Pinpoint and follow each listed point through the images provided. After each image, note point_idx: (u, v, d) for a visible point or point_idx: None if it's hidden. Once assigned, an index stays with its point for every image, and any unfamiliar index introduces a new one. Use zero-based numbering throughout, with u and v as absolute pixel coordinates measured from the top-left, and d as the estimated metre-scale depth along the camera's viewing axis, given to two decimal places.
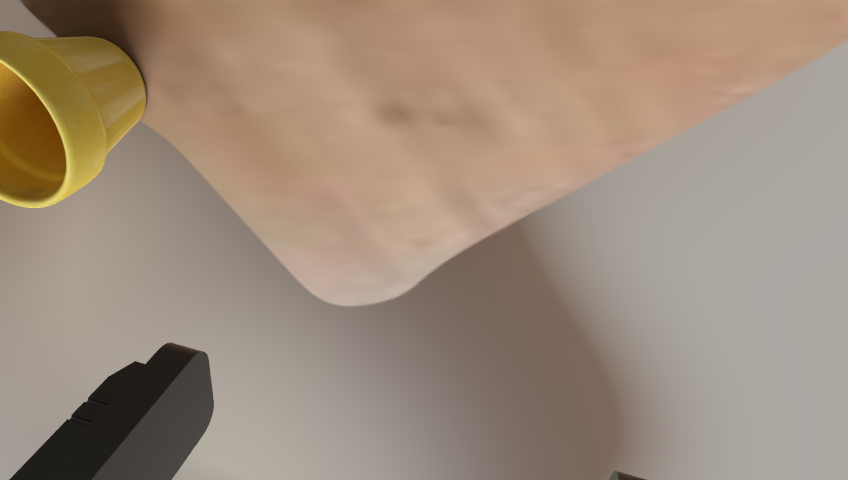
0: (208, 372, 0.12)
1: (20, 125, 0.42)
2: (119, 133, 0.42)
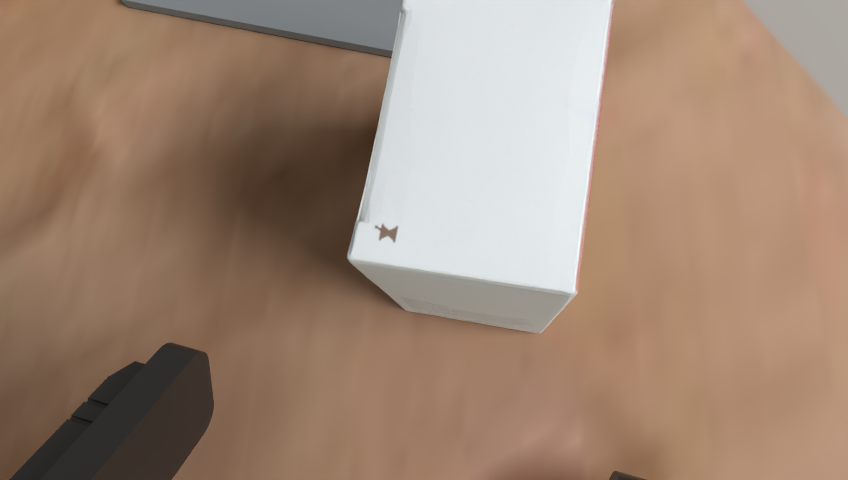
0: (208, 372, 0.12)
1: None
2: None
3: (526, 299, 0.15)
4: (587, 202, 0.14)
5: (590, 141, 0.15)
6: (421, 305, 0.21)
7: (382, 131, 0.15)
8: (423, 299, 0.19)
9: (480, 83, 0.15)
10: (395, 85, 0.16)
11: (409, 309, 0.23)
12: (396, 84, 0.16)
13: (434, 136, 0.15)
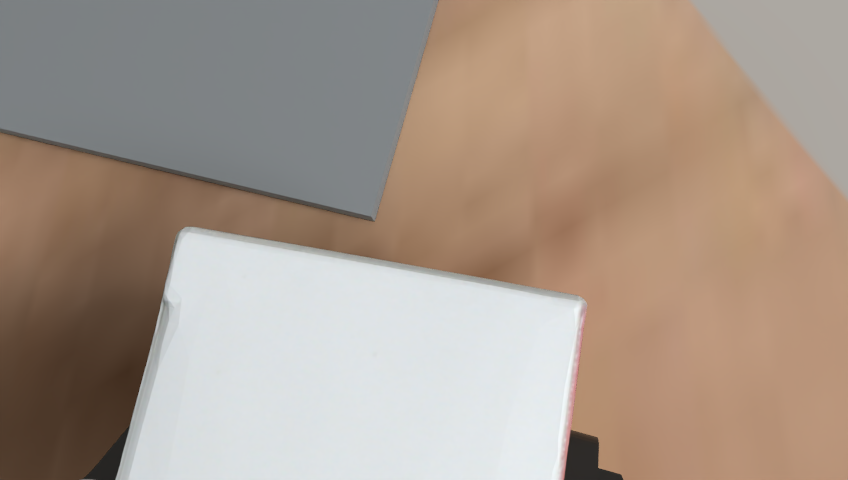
0: None
1: None
2: None
3: None
4: None
5: None
6: None
7: None
8: None
9: None
10: (134, 473, 0.08)
11: None
12: (136, 472, 0.08)
13: None
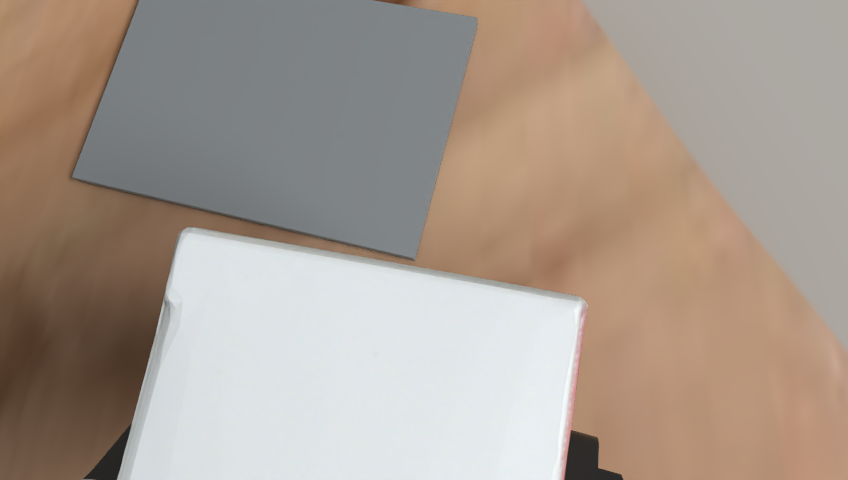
0: None
1: None
2: None
3: None
4: None
5: None
6: None
7: None
8: None
9: None
10: (135, 472, 0.08)
11: None
12: (137, 472, 0.08)
13: None
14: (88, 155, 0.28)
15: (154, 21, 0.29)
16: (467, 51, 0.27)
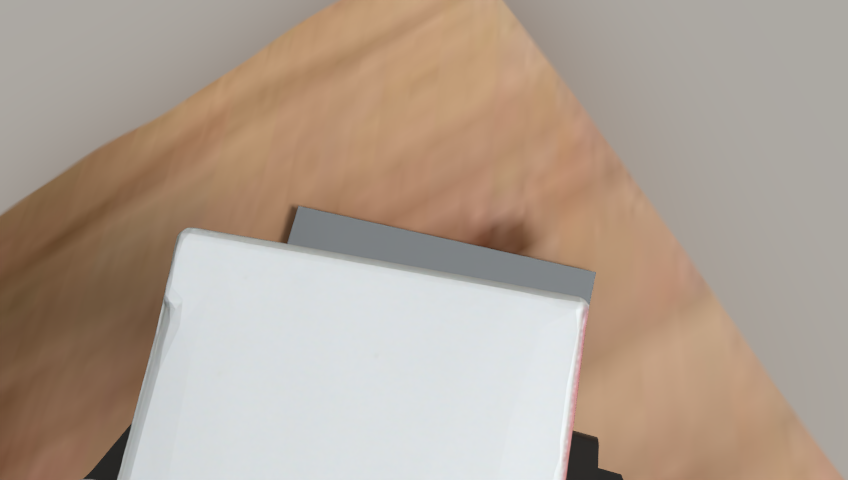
0: None
1: None
2: None
3: None
4: None
5: None
6: None
7: None
8: None
9: None
10: (135, 474, 0.08)
11: None
12: (137, 473, 0.08)
13: None
14: None
15: None
16: (588, 304, 0.31)
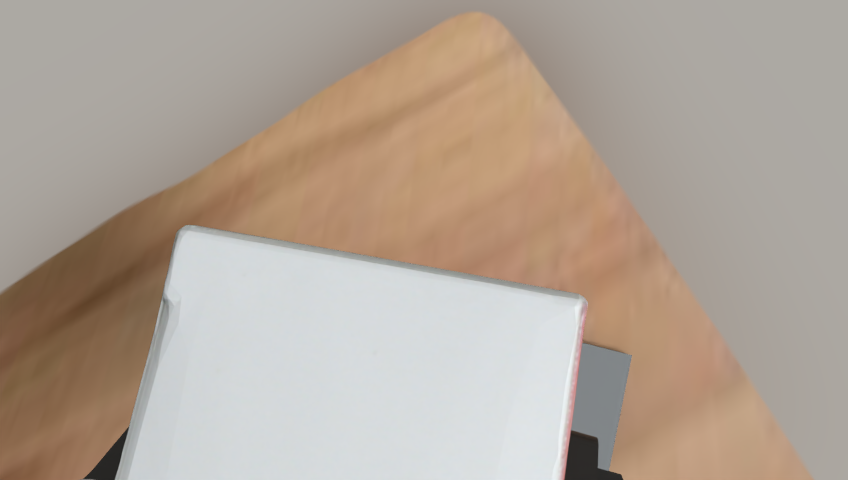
0: None
1: None
2: None
3: None
4: None
5: None
6: None
7: None
8: None
9: None
10: (134, 471, 0.08)
11: None
12: (137, 470, 0.08)
13: None
14: None
15: None
16: (624, 388, 0.30)
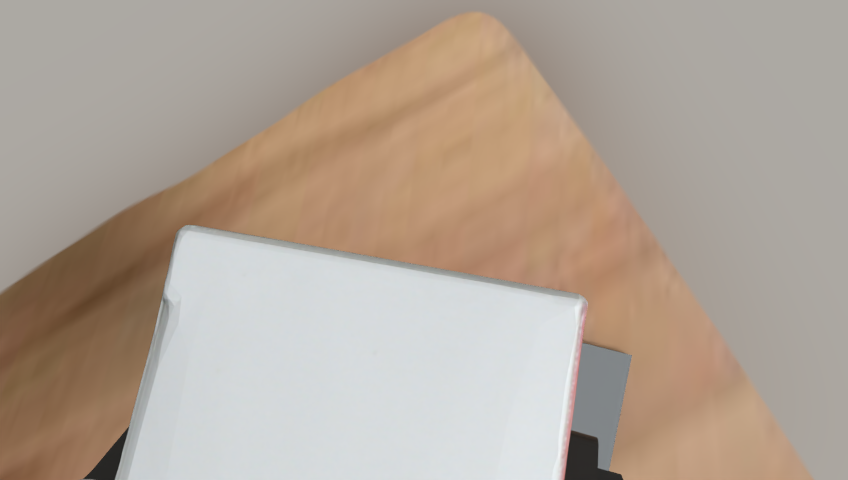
0: None
1: None
2: None
3: None
4: None
5: None
6: None
7: None
8: None
9: None
10: (134, 471, 0.08)
11: None
12: (137, 470, 0.08)
13: None
14: None
15: None
16: (624, 388, 0.30)
